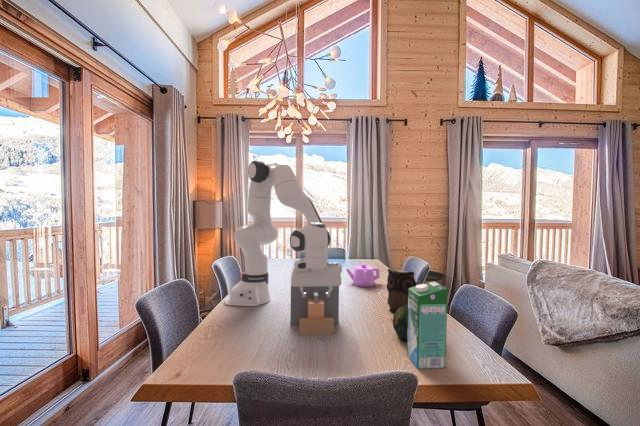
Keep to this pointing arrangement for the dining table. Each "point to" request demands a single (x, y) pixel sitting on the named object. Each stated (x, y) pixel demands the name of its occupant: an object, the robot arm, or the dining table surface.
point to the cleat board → (301, 310)
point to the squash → (401, 322)
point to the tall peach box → (315, 307)
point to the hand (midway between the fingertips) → (315, 297)
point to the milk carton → (427, 325)
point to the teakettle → (364, 275)
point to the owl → (399, 288)
